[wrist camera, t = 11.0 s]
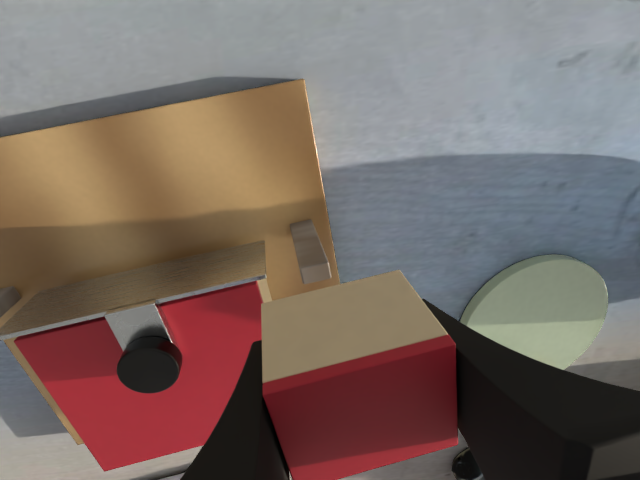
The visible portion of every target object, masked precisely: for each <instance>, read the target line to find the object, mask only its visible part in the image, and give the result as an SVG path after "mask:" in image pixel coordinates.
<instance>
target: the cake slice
mask: <svg viewBox="0 0 640 480" xmlns="http://www.w3.org/2000/svg"><path fill="white" fill-rule="evenodd" d="M261 330H262V383H263V385H262V391H263V398H264V400H265V403H266V406H267V409H268V412H269V415H270V417H271V420H272V423H273V426H274V429H275V432H276V434H277V437H278V440H279V443H280V446H281V449H282V451H283V454H284V457H285V460H286V463H287V466H288V468H289V471H290V474H291V477H292V480H337V479H340V478H344V477H347V476H351V475H354V474H358V473H361V472H365V471H368V470H372V469H375V468H379V467H382V466H386V465H389V464H393V463H396V462H400V461H403V460H407V459H410V458H414V457H417V456H421V455H424V454H428V453H431V452H435V451H438V450H441V449H445V448H448V447H452V446H455V445H458V422H457V379H456V344H455V342H454V341H453V340H452V338H451V337H450V336H449V335H448V333H447V332H446V331H445V329H444V328H443V327H442V325H441V324H440V323H439V321H438V320H437V319H436V317H435V316H434V315H433V313H432V312H431V311H430V310H429V308H428V307H427V306H426V304H425V303H424V302H423V300H422V299H421V298H420V296H419V295H418V294H417V292H416V291H415V290H414V289H413V287H412V286H411V285H410V283H409V282H408V281H407V279H406V278H405V277H404V275H403V274H402V273H401V271H400V270H395V271H391V272H387V273H383V274H379V275H375V276H371V277H367V278H363V279H359V280H355V281H351V282H347V283H343V284H338V285H334V286H330V287H326V288H322V289H318V290H314V291H310V292H306V293H302V294H298V295H294V296H290V297H286V298H282V299H278V300H274V301H270V302H266V303H262V304H261Z"/></svg>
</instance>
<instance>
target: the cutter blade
mask: <svg viewBox="0 0 640 480" xmlns="http://www.w3.org/2000/svg"><path fill="white" fill-rule="evenodd" d="M266 278H267V273H266V253H265V241H264V240H261V241H257V242H252V243H248V244H243V245H239V246H234V247H230V248H226V249H221V250H217V251H212V252H208V253H204V254H199V255H195V256H190V257H186V258H181V259H177V260H173V261H168V262H164V263H159V264H155V265H150V266H146V267H142V268H137V269H133V270H128V271H124V272H119V273H115V274H111V275H106V276H102V277H97V278H93V279H88V280H84V281H80V282H75V283H71V284H66V285H62V286H57V287H53V288H49V289H44V290H40V291H38V292H37V293H36V294H35V295H34V296H33V297H32V298H31V299H30V300H29V301H28V302H27V303H26V304H25V305H24V306H23V307H22V308H21V309H20V310H19V311H18V312H16V313H15V314H14V315H13V316H12V317H11V318H10V319H9V320H8V321H7V322H6V323H5V324H4V325H3V326H2V327H1V328H0V341H1V340H5V339H9V338H14V337H18V336H22V335H27V334H31V333H35V332H39V331H44V330H48V329H52V328H56V327H61V326H65V325H69V324H74V323H78V322H82V321H86V320H91V319H95V318H99V317H103V316H105V318H106V320H107V322H108V324H109V326H110V328H111V329H112V331H113V333H114V335H115V337H116V339H117V341H118V343H119V344H120V346H121V348H122V350H123V353H122V355H121V358H120V360H119V362H118V364H117V376H118V378H119V380H120V381H121V383H122V384H123V385H124V386H126V387H127V388H129V389H131V390H133V391H135V392H139V393H146V394H151V393H158V392H162V391H164V390H166V389H168V388H170V387H171V386H172V385H173V384H174V383H175V382H176V381H177V379H178V377H179V374H180V370H181V366H182V357H183V354H182V352H181V350H180V347H179V345H178V343H177V341H176V339H175V336H174V334H173V332H172V330H171V327H170V325H169V323H168V321H167V318H166V316H165V314H164V312H163V309H162V307H161V305H160V303H163V302H167V301H172V300H176V299H180V298H184V297H189V296H193V295H197V294H202V293H206V292H210V291H214V290H219V289H223V288H227V287H231V286H236V285H240V284H244V283H249V282H253V281H257V280H261V279H266Z"/></svg>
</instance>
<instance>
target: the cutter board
mask: <svg viewBox="0 0 640 480" xmlns="http://www.w3.org/2000/svg"><path fill="white" fill-rule="evenodd" d="M261 240H264V241H265V253H266V273H267V278H266V280H267V284H268V287H269V291H270V295H271V298H272V301H274V300H278V299H282V298H286V297H290V296H294V295H298V294H302V293H306V292H310V291H314V290H318V289H322V288H326V287H330V286H334V285H338V284H340V280H339V274H338V268H337V263H336V257H335V251H334V246H333V240H332V234H331V229H330V223H329V217H328V211H327V206H326V200H325V194H324V189H323V183H322V177H321V172H320V166H319V160H318V155H317V149H316V143H315V137H314V132H313V126H312V120H311V115H310V109H309V103H308V98H307V92H306V86H305V81H304V79H298V80H293V81H288V82H282V83H277V84H272V85H267V86H262V87H257V88H251V89H246V90H241V91H236V92H231V93H226V94H220V95H215V96H210V97H205V98H200V99H195V100H189V101H184V102H179V103H174V104H169V105H164V106H158V107H153V108H148V109H143V110H138V111H133V112H127V113H122V114H117V115H112V116H107V117H102V118H96V119H91V120H86V121H81V122H76V123H71V124H65V125H60V126H55V127H50V128H45V129H40V130H34V131H29V132H24V133H19V134H14V135H9V136H3V137H0V328H1V327H2V326H3V325H4V324H5V323H6V322H7V321H8V320H9V319H10V318H11V317H12V316H13V315H14V314H15V313H16V312H18V311H19V310H20V309H21V308H22V307H23V306H24V305H25V304H26V303H27V302H28V301H29V300H30V299H31V298H32V297H33V296H34V295H35V294H36V293H37V292H38V291H40V290H44V289H49V288H53V287H57V286H62V285H66V284H71V283H75V282H80V281H84V280H88V279H93V278H97V277H102V276H106V275H111V274H115V273H119V272H124V271H128V270H133V269H137V268H142V267H146V266H150V265H155V264H159V263H164V262H168V261H173V260H177V259H181V258H186V257H190V256H195V255H199V254H204V253H208V252H212V251H217V250H221V249H226V248H230V247H234V246H239V245H243V244H248V243H252V242H257V241H261ZM16 338H17V337H14V338H9V339H5V340H3V341H4V342H5V344H6V345H7V347H8V348H9V349H10V351H11V352H12V354H13V355H14V356H15V358H16V359H17V361H18V362H19V363H20V365H21V366H22V368H23V369H24V370H25V372H26V373H27V375H28V376H29V377H30V379H31V380H32V382H33V383H34V384H35V386H36V387H37V389H38V390H39V391H40V393H41V394H42V396H43V397H44V398H45V400H46V401H47V403H48V404H49V405H50V407H51V408H52V410H53V411H54V412H55V414H56V415H57V417H58V418H59V419H60V421H61V422H62V424H63V425H64V426H65V428H66V429H67V431H68V432H69V433H70V435H71V436H72V438H73V439H74V440H75V442H76V443H77V445H80V444H84V442H83V440H82V439H81V437H80V436H79V435H78V433H77V432H76V430H75V429H74V427H73V426H72V425H71V423H70V422H69V420H68V419H67V417H66V416H65V415H64V413H63V412H62V410H61V409H60V407H59V406H58V405H57V403H56V402H55V400H54V399H53V397H52V396H51V395H50V393H49V392H48V390H47V389H46V387H45V386H44V385H43V383H42V382H41V380H40V379H39V377H38V376H37V375H36V373H35V372H34V370H33V369H32V367H31V366H30V365H29V363H28V362H27V360H26V359H25V357H24V356H23V355H22V353H21V352H20V350H19V349H18V347H17V346H16V345H15V343H14V340H15V339H16Z"/></svg>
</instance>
